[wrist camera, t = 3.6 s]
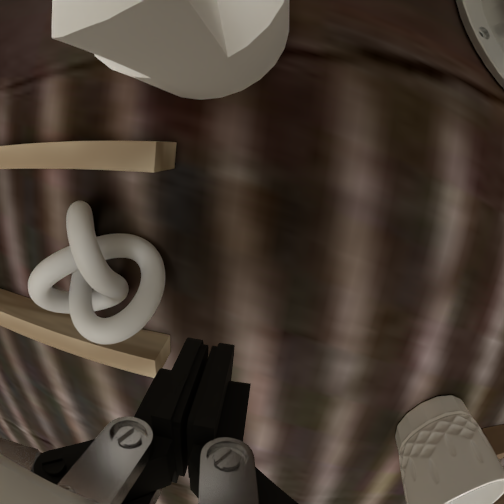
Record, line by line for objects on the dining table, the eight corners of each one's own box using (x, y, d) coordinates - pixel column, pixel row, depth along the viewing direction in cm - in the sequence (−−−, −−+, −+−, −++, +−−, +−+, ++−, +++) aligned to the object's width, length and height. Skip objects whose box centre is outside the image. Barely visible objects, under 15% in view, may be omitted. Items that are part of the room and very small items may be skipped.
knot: (58, 202, 19) (-1, 222, 13) (159, 183, 18) (109, 200, 12) (83, 302, 21) (37, 343, 16) (180, 301, 20) (146, 354, 15)
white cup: (370, 438, 23) (387, 535, 13) (434, 377, 20) (481, 476, 11) (424, 453, 23) (447, 533, 14) (482, 401, 21) (524, 479, 11)
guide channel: (-52, 153, 18) (-89, 160, 14) (176, 142, 17) (138, 141, 12) (-38, 285, 23) (-69, 304, 18) (170, 352, 21) (145, 398, 17)
